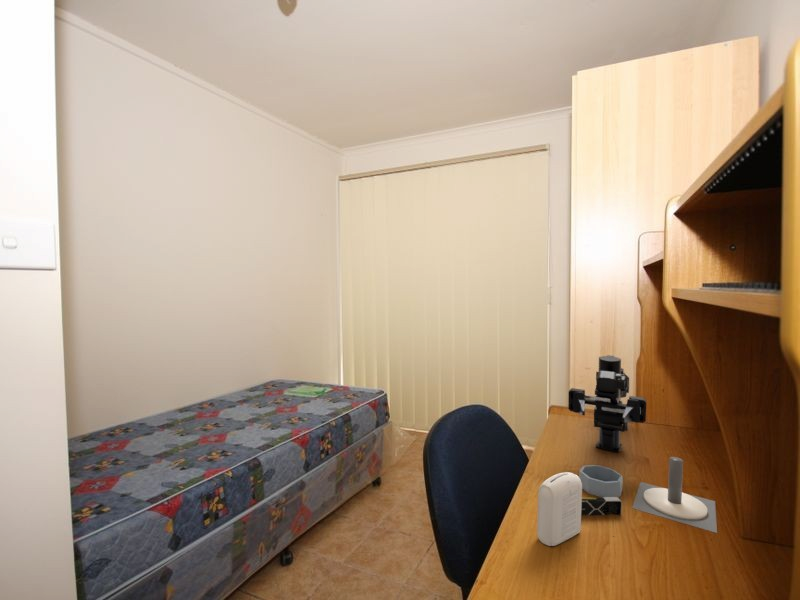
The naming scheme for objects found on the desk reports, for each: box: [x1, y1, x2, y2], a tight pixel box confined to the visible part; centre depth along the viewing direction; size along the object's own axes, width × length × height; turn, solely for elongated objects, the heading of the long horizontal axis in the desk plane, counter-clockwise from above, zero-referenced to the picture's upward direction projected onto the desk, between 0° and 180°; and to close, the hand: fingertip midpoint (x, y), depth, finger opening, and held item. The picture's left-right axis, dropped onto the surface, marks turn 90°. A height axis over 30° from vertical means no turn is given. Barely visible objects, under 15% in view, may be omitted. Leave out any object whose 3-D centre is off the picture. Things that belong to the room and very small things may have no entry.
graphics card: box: [581, 497, 623, 516], centre depth 89 cm, size 12×3×5 cm, turn 92°
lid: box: [644, 456, 707, 520], centre depth 93 cm, size 12×12×10 cm
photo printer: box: [536, 471, 583, 547], centre depth 82 cm, size 10×4×12 cm, turn 123°
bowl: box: [578, 464, 624, 498], centre depth 100 cm, size 9×9×4 cm
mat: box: [632, 481, 718, 534], centre depth 93 cm, size 15×15×1 cm
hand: (602, 416), depth 104 cm, fingers open, 9 cm apart
